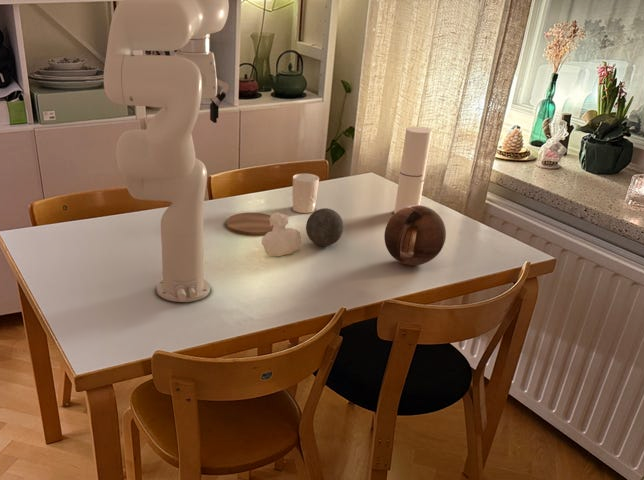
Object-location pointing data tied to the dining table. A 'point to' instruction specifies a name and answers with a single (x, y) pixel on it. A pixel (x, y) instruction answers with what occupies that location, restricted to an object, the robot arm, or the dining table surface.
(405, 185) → the cylindrical container
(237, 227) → the round wooden disc
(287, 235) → the bust
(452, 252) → the dining table surface
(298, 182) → the white cup
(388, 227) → the wooden sphere
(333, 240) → the decorative ball
